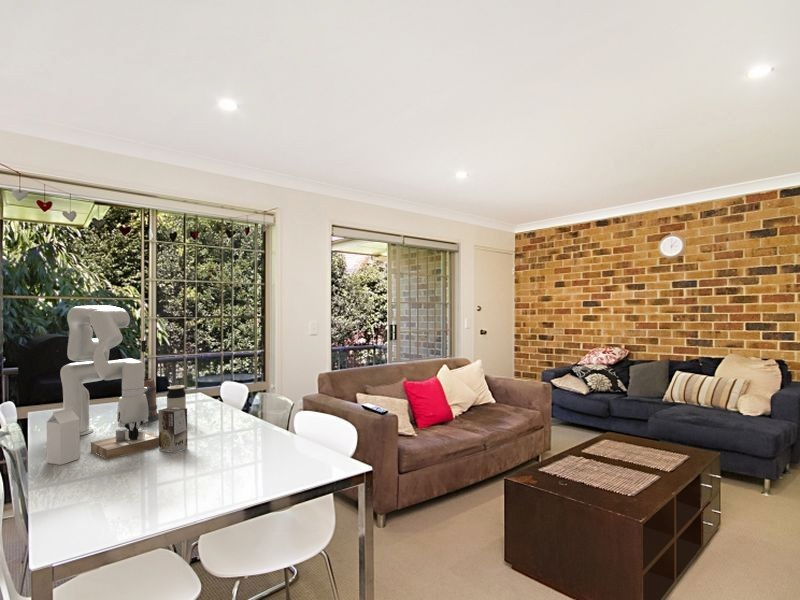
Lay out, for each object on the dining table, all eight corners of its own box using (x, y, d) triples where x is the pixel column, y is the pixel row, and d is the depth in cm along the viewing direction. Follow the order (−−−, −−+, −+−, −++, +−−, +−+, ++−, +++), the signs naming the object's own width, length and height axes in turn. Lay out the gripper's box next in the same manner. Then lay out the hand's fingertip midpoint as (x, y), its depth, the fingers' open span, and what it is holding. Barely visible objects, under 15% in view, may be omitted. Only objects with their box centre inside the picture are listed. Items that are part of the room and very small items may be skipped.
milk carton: (80, 459, 172) (79, 408, 172) (60, 465, 165) (60, 412, 165) (66, 457, 174) (66, 406, 174) (46, 463, 167) (46, 411, 167)
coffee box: (188, 448, 182) (188, 408, 182) (174, 453, 177) (174, 411, 177) (172, 445, 186) (172, 406, 186) (158, 450, 180) (157, 409, 180)
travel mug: (169, 427, 214) (169, 388, 214) (165, 424, 220) (164, 386, 220) (187, 424, 219) (187, 386, 219) (182, 421, 225) (182, 384, 225)
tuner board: (91, 451, 181) (90, 441, 181) (144, 438, 196) (144, 430, 197) (107, 459, 171) (107, 449, 171) (162, 445, 187) (162, 436, 187)
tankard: (119, 419, 230) (119, 379, 230) (156, 413, 241) (156, 375, 241) (129, 428, 213) (129, 385, 213) (169, 422, 224) (168, 381, 224)
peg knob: (113, 441, 180) (113, 431, 180) (119, 438, 184) (119, 428, 184) (141, 440, 181) (141, 430, 181) (146, 437, 185) (146, 428, 185)
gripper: (148, 388, 188) (148, 433, 188) (107, 394, 176) (108, 442, 176) (157, 390, 183) (157, 436, 183) (116, 397, 171) (116, 446, 171)
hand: (133, 439), depth 179 cm, fingers closed
